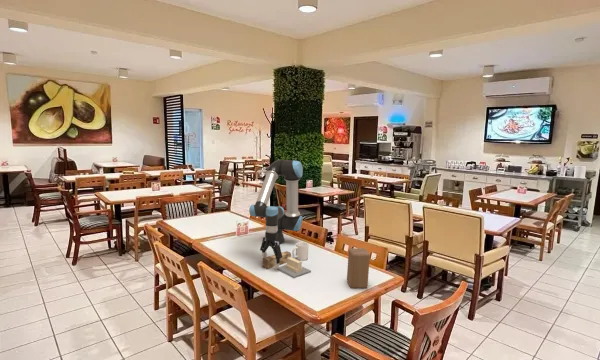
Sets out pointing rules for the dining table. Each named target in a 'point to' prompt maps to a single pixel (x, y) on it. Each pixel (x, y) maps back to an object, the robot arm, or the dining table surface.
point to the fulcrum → (293, 268)
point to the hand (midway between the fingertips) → (270, 265)
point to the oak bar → (270, 260)
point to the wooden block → (358, 268)
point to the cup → (301, 251)
